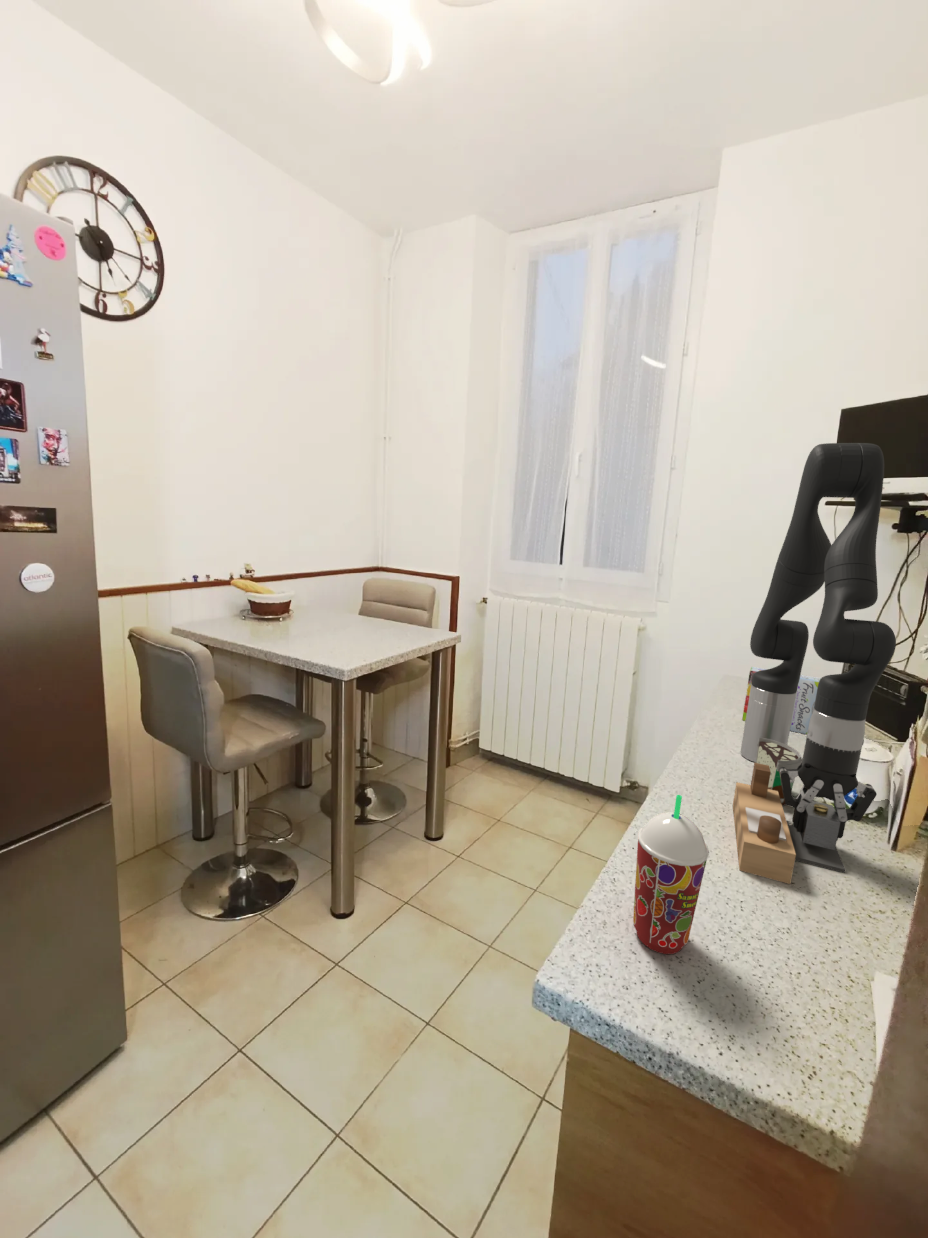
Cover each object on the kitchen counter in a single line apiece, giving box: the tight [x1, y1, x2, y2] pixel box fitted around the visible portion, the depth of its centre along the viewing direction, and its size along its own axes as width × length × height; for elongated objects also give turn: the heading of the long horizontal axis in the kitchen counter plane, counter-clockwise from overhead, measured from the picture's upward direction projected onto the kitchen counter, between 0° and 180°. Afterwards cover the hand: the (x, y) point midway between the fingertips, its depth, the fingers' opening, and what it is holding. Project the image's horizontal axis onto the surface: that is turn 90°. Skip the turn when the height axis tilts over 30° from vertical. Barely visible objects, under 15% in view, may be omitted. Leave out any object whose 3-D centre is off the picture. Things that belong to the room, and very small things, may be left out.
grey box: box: [800, 800, 840, 850], centre depth 92 cm, size 6×4×6 cm
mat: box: [787, 823, 846, 874], centre depth 92 cm, size 11×7×1 cm, turn 156°
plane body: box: [732, 762, 796, 885], centre depth 93 cm, size 22×7×10 cm, turn 156°
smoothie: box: [632, 794, 710, 955], centre depth 69 cm, size 8×8×20 cm
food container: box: [755, 738, 803, 807], centre depth 109 cm, size 12×6×10 cm, turn 168°
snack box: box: [741, 666, 822, 735], centre depth 149 cm, size 21×6×15 cm, turn 58°
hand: (815, 833), depth 92 cm, fingers closed on grey box, 4 cm apart
